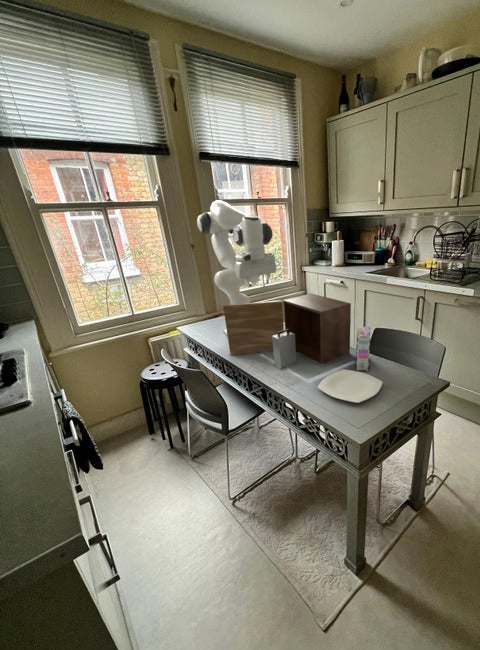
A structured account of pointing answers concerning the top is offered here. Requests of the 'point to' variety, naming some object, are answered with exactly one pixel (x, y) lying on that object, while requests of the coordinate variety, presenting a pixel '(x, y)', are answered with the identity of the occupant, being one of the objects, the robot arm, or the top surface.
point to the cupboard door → (252, 326)
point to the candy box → (363, 348)
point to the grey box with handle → (284, 348)
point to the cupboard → (319, 326)
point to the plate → (350, 386)
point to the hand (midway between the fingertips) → (258, 285)
